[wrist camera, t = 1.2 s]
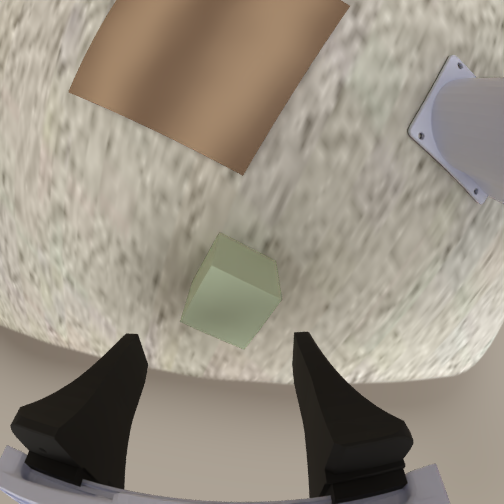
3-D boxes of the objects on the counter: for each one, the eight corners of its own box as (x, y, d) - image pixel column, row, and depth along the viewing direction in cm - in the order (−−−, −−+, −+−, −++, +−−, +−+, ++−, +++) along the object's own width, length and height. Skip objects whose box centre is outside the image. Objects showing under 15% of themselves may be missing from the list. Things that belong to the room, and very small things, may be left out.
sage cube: (275, 260, 22) (282, 299, 18) (245, 306, 24) (244, 349, 19) (219, 231, 21) (211, 265, 17) (192, 281, 23) (180, 321, 18)
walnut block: (336, 19, 15) (350, 6, 12) (243, 166, 19) (242, 175, 17) (177, -48, 12) (168, -67, 10) (90, 93, 17) (68, 92, 14)
